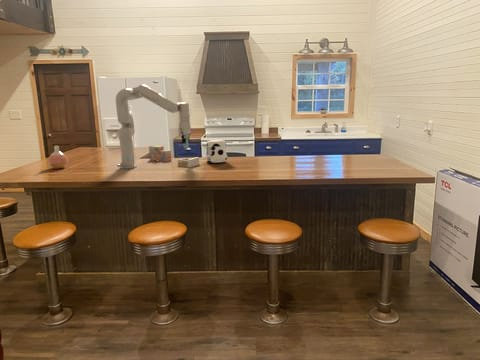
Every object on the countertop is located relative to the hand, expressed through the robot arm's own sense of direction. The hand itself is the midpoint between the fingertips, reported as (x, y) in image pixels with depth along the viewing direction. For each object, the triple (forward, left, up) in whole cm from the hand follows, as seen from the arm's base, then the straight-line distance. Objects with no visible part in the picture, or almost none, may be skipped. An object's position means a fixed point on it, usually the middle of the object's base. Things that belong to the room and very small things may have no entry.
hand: (185, 142), depth 274 cm
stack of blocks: (+13, +37, -19) cm, 43 cm away
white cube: (+21, -15, -19) cm, 32 cm away
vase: (-47, +88, -19) cm, 102 cm away
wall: (0, -6, -18) cm, 19 cm away
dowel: (0, 0, -4) cm, 4 cm away
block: (0, 0, -18) cm, 18 cm away
